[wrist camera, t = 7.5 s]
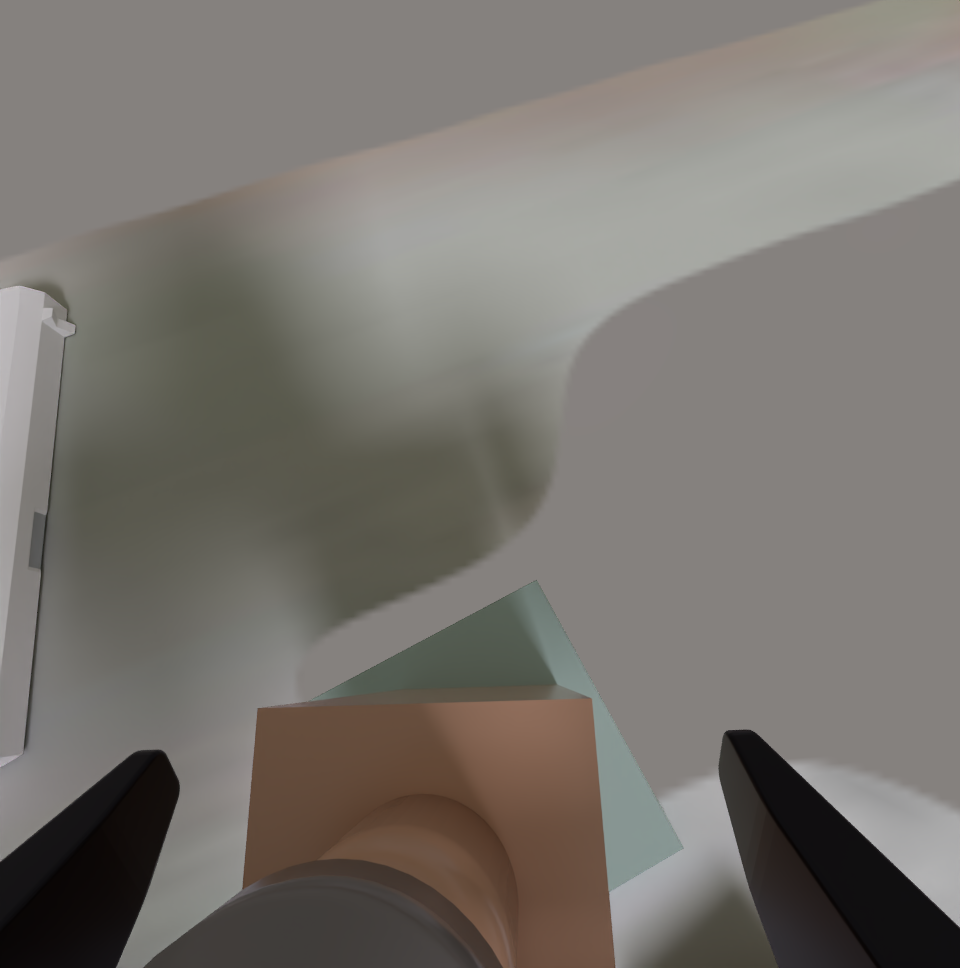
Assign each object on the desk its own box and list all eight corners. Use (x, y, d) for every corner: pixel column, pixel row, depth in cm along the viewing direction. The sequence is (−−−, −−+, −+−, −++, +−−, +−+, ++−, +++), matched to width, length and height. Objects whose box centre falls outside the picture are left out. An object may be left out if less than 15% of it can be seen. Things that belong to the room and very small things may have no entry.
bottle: (570, 867, 15) (826, 2055, 2) (398, 869, 16) (-289, 1921, 2) (557, 684, 17) (665, 728, 4) (400, 689, 17) (-25, 746, 4)
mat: (676, 839, 16) (683, 848, 15) (418, 990, 15) (412, 1007, 15) (536, 583, 18) (536, 579, 18) (309, 704, 18) (299, 706, 17)
